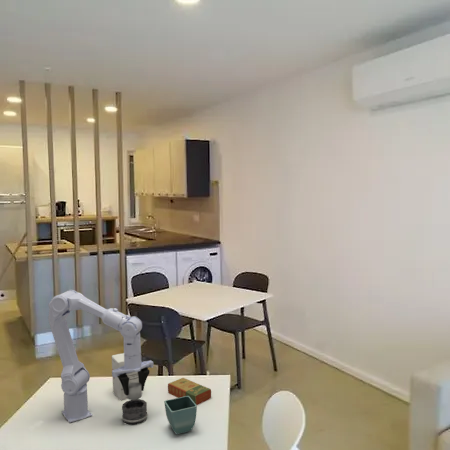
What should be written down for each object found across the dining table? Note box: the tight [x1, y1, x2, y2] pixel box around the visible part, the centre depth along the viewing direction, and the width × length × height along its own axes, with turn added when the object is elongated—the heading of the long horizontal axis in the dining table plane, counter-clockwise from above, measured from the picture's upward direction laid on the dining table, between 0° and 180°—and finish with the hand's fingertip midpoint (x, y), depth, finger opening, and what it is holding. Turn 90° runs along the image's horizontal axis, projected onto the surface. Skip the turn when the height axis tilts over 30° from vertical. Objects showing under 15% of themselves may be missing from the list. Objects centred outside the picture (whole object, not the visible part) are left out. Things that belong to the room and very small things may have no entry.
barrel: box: [121, 398, 148, 426], centre depth 156 cm, size 8×8×5 cm
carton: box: [167, 377, 212, 406], centre depth 173 cm, size 8×16×4 cm, turn 47°
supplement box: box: [111, 352, 139, 401], centre depth 175 cm, size 9×9×15 cm
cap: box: [126, 382, 143, 401], centre depth 155 cm, size 5×5×4 cm
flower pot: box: [163, 396, 198, 435], centre depth 148 cm, size 9×9×9 cm
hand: (134, 392), depth 155 cm, fingers closed on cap, 5 cm apart
